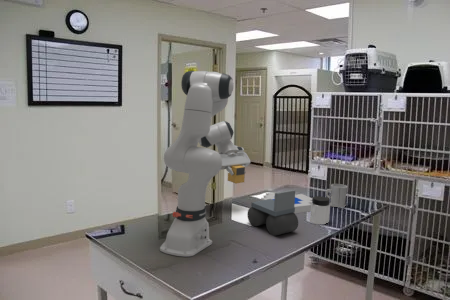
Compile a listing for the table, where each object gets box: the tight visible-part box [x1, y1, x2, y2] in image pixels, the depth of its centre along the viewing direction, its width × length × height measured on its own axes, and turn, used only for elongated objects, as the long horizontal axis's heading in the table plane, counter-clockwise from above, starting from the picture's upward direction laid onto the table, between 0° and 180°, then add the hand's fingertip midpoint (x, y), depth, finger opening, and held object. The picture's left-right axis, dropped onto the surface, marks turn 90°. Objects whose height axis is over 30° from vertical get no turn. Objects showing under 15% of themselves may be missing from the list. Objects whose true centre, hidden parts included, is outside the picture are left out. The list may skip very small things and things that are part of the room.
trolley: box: [247, 189, 299, 237], centre depth 162 cm, size 22×12×19 cm, turn 36°
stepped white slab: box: [260, 191, 313, 214], centre depth 200 cm, size 28×4×28 cm
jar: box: [309, 195, 331, 225], centre depth 173 cm, size 9×8×12 cm
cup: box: [325, 183, 348, 208], centre depth 201 cm, size 10×9×12 cm
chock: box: [227, 166, 246, 184], centre depth 183 cm, size 7×6×8 cm
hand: (238, 174), depth 181 cm, fingers closed on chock, 5 cm apart
